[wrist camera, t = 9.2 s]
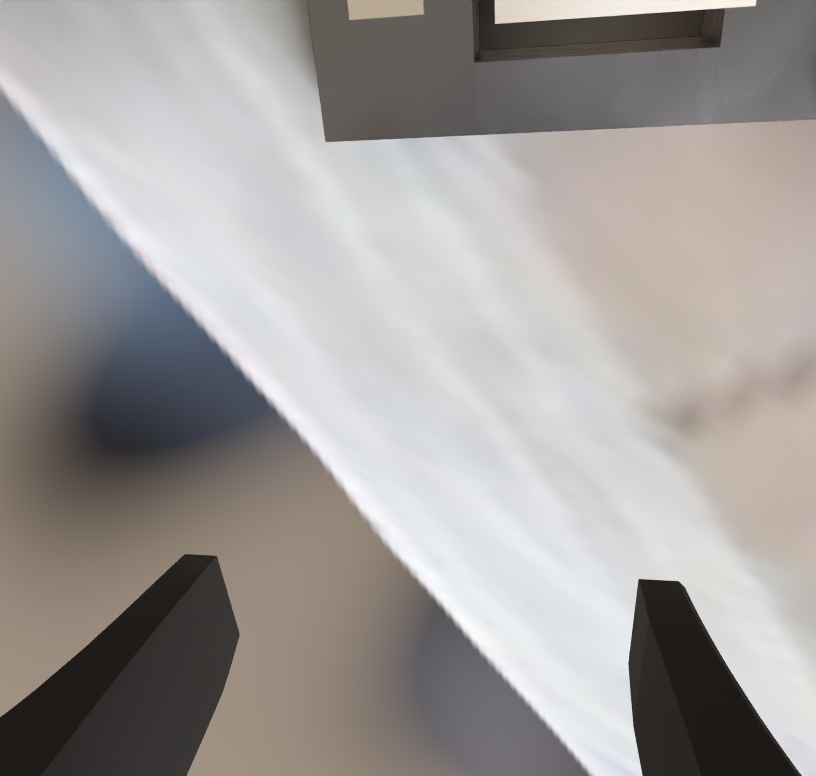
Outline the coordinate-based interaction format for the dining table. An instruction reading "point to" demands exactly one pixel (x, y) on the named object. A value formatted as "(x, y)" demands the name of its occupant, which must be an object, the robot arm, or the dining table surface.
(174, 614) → the robot arm
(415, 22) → the port panel
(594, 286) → the dining table surface
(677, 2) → the plug
